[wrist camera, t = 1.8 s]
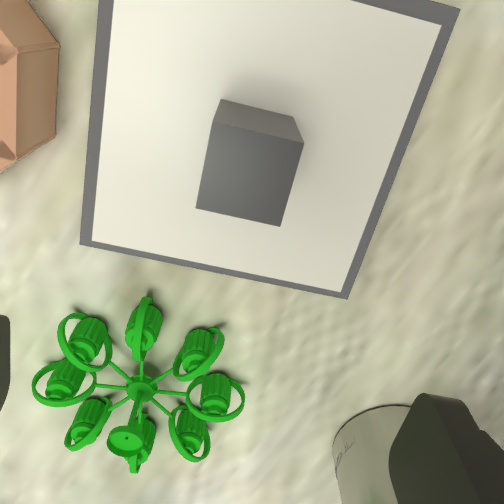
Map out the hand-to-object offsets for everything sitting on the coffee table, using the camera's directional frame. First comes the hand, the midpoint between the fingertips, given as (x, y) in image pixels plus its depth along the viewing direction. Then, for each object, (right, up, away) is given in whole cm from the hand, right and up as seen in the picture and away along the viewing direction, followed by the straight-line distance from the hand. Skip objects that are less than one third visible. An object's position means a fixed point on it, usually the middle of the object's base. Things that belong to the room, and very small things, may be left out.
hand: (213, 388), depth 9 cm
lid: (+1, +9, +18) cm, 20 cm away
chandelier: (-7, -6, +26) cm, 28 cm away
